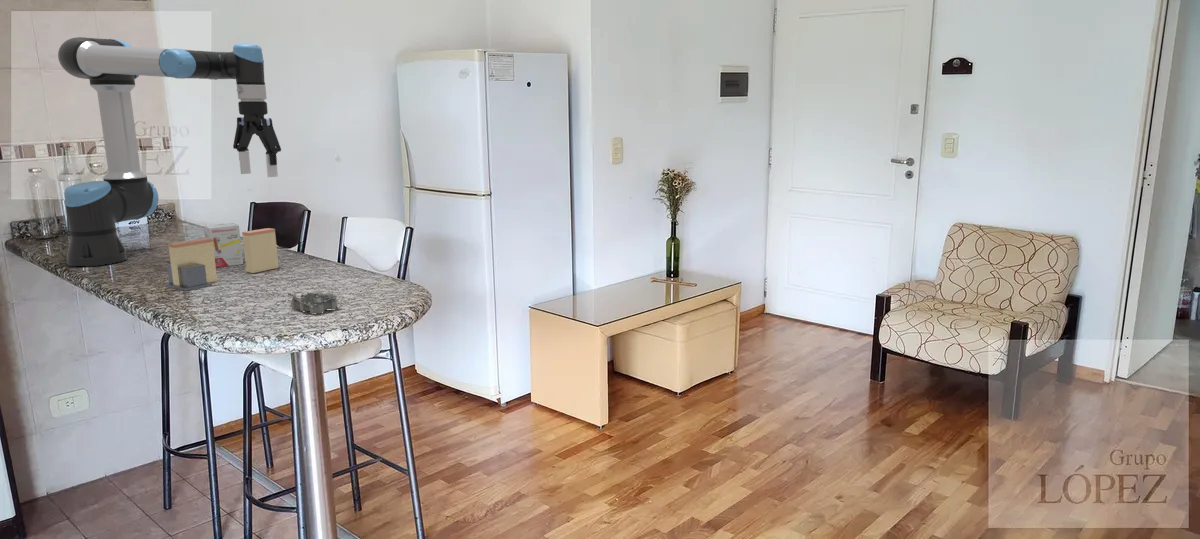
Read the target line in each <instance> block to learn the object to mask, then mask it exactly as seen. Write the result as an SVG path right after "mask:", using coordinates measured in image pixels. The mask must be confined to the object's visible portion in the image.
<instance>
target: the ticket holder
mask: <svg viewBox="0 0 1200 539" xmlns="http://www.w3.org/2000/svg"><path fill="white" fill-rule="evenodd" d="M167 247H168V252H169V260H170V263H167V264H166V269H167V278H168V282H166V283H164V284H163V285H164V287H166V288H172V289H175V290H180V291H184V292H187V291H191V290H192V291H193V290H198V289H202V288H207V287H212V286H213V283H214V282H218V276H217V268H216V265H215V257H214V248H213V239H210V238H205V237H202V238H196V239H191V240H183V241H177V242H172V243H171V242H170V243H167Z"/></svg>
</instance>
